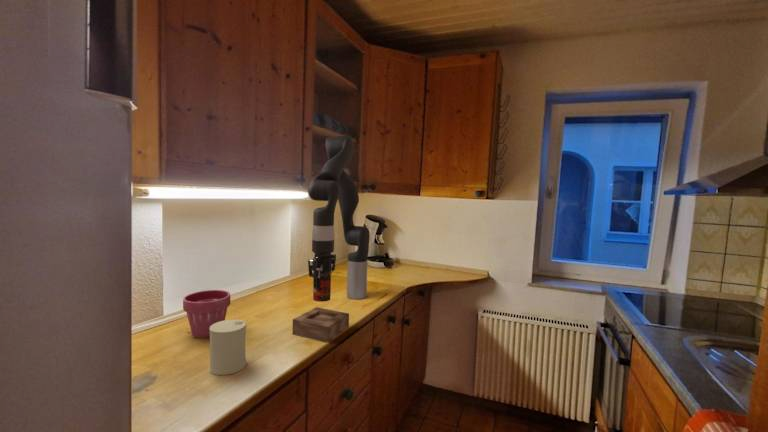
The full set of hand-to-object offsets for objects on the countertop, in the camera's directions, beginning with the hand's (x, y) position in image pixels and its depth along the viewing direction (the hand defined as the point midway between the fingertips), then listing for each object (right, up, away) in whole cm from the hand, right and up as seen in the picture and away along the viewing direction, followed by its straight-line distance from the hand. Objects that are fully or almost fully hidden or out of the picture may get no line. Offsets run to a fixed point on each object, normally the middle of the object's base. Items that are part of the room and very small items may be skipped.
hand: (322, 286), depth 118 cm
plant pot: (-38, -15, -3) cm, 41 cm away
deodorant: (0, -5, 0) cm, 5 cm away
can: (-21, -17, -25) cm, 37 cm away
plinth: (0, -16, +1) cm, 16 cm away
